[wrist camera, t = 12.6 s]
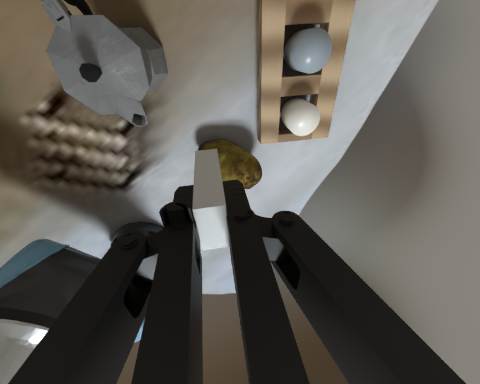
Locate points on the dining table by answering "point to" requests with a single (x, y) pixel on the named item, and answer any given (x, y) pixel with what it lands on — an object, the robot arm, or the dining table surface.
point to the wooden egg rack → (317, 84)
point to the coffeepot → (104, 61)
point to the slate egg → (308, 50)
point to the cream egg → (300, 116)
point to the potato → (235, 162)
